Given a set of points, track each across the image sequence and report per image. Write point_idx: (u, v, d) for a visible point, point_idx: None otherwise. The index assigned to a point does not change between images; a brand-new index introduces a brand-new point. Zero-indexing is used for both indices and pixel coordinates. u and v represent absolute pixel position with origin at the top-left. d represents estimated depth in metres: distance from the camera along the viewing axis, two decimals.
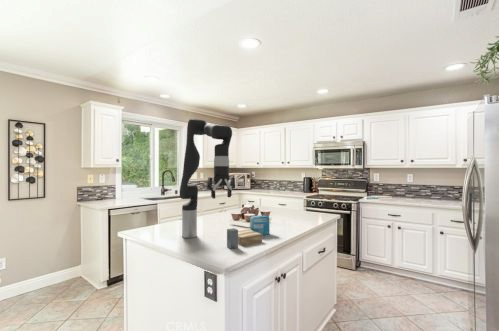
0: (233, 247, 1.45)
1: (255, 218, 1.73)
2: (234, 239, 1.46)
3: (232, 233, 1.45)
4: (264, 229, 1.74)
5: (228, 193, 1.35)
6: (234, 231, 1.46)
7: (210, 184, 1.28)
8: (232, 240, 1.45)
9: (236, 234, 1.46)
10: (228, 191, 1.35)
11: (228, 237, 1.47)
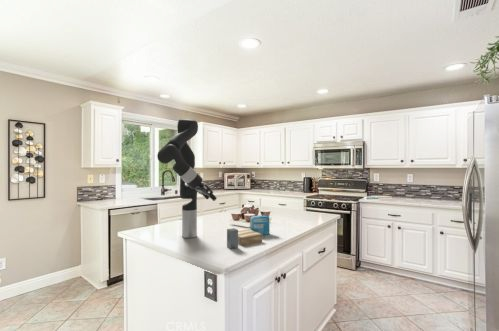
0: (233, 247, 1.45)
1: (255, 218, 1.73)
2: (234, 239, 1.46)
3: (232, 233, 1.45)
4: (264, 229, 1.74)
5: None
6: (234, 231, 1.46)
7: (196, 190, 1.43)
8: (232, 240, 1.45)
9: (236, 234, 1.46)
10: None
11: (228, 237, 1.47)
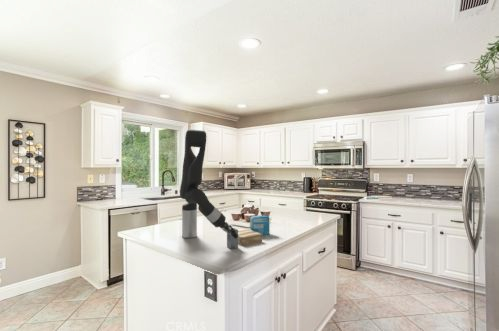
0: (233, 247, 1.45)
1: (255, 218, 1.73)
2: (234, 239, 1.46)
3: None
4: (264, 229, 1.74)
5: None
6: None
7: None
8: (232, 240, 1.45)
9: None
10: None
11: (228, 237, 1.47)
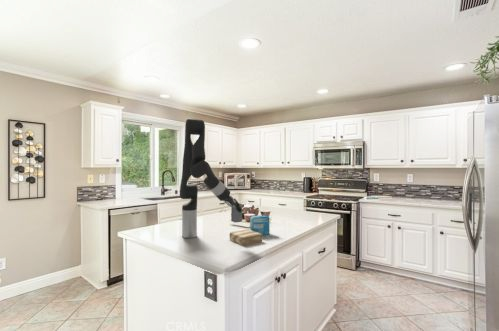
0: (237, 221, 1.50)
1: (255, 218, 1.73)
2: (238, 213, 1.50)
3: None
4: (264, 229, 1.74)
5: None
6: None
7: None
8: (236, 214, 1.49)
9: None
10: None
11: (232, 211, 1.51)
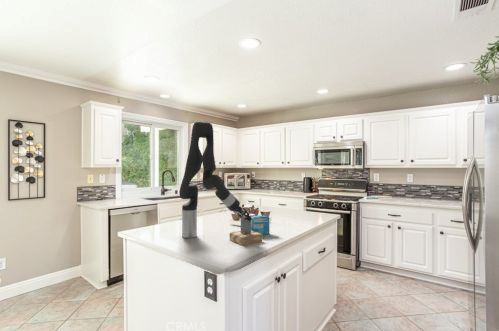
0: (246, 233, 1.58)
1: (255, 218, 1.73)
2: (247, 225, 1.59)
3: (246, 220, 1.58)
4: (264, 229, 1.74)
5: None
6: None
7: (233, 211, 1.63)
8: (246, 226, 1.58)
9: (249, 221, 1.59)
10: None
11: (241, 224, 1.60)
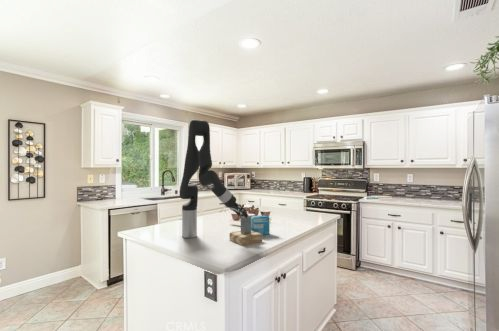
0: (247, 233, 1.58)
1: (255, 218, 1.73)
2: (247, 225, 1.58)
3: (246, 220, 1.58)
4: (264, 229, 1.74)
5: None
6: (247, 218, 1.58)
7: (229, 207, 1.62)
8: (246, 226, 1.58)
9: (249, 221, 1.59)
10: None
11: (241, 224, 1.60)
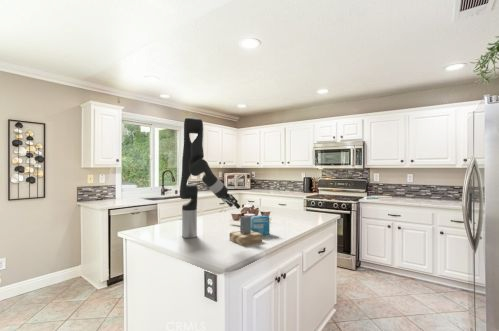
0: (246, 233, 1.58)
1: (255, 218, 1.73)
2: (247, 225, 1.59)
3: (245, 220, 1.58)
4: (264, 229, 1.74)
5: None
6: (247, 218, 1.59)
7: None
8: (245, 226, 1.58)
9: (249, 221, 1.59)
10: None
11: (241, 224, 1.60)
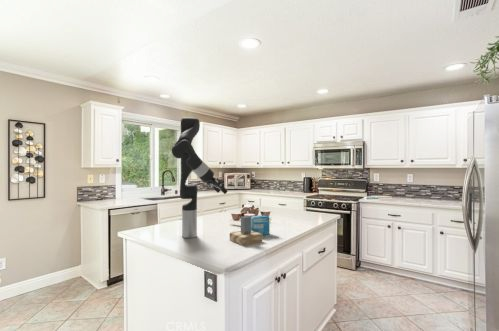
0: (246, 233, 1.58)
1: (255, 218, 1.73)
2: (247, 225, 1.58)
3: (245, 220, 1.58)
4: (264, 229, 1.74)
5: None
6: (247, 218, 1.58)
7: (208, 184, 1.50)
8: (245, 226, 1.58)
9: (249, 221, 1.59)
10: None
11: (241, 224, 1.60)
